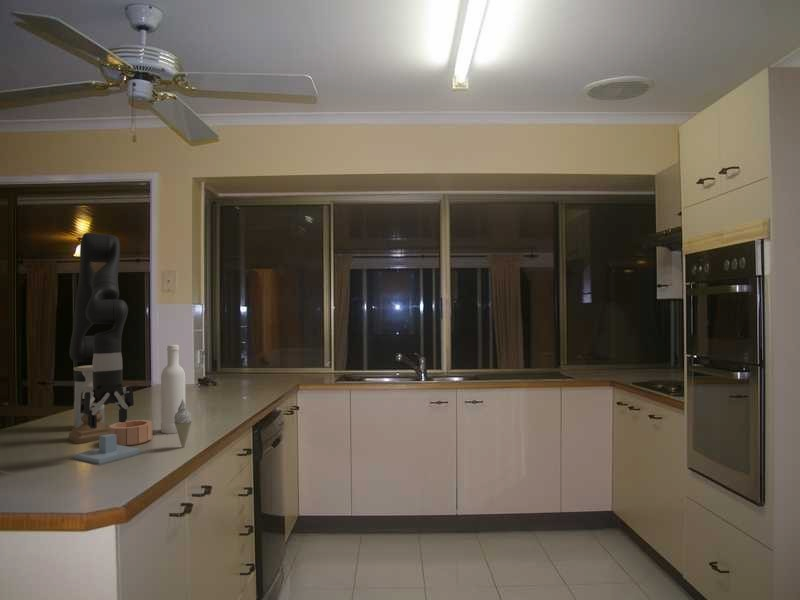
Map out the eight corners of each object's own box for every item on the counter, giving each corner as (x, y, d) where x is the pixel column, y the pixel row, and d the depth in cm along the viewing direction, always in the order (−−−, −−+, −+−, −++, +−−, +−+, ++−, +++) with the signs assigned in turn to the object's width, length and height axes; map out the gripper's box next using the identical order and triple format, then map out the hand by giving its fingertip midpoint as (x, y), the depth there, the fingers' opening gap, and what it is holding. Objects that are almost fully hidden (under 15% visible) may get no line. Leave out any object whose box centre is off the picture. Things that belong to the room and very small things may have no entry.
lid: (74, 458, 146) (74, 437, 147) (115, 448, 157) (115, 428, 157) (99, 463, 141) (99, 442, 141) (140, 453, 151) (140, 433, 151)
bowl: (101, 445, 162) (101, 426, 162) (137, 436, 173) (136, 418, 173) (124, 449, 156) (124, 429, 156) (160, 440, 167) (160, 422, 167)
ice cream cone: (177, 446, 159) (177, 397, 159) (194, 446, 160) (194, 397, 160) (171, 451, 154) (171, 400, 154) (189, 450, 155) (188, 400, 155)
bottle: (176, 434, 176) (176, 345, 176) (156, 433, 177) (155, 345, 178) (190, 428, 183) (190, 344, 184) (170, 428, 185) (170, 344, 186)
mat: (67, 460, 146) (67, 458, 146) (115, 448, 159) (115, 446, 159) (98, 467, 139) (98, 465, 139) (146, 454, 151) (146, 452, 151)
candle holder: (115, 437, 172) (115, 365, 172) (78, 444, 164) (78, 368, 164) (104, 432, 179) (104, 363, 180) (68, 439, 171) (67, 366, 172)
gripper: (123, 365, 157) (123, 419, 157) (74, 370, 145) (74, 429, 144) (138, 366, 154) (139, 421, 153) (90, 371, 141) (90, 431, 141)
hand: (108, 425), depth 149 cm, fingers open, 8 cm apart
